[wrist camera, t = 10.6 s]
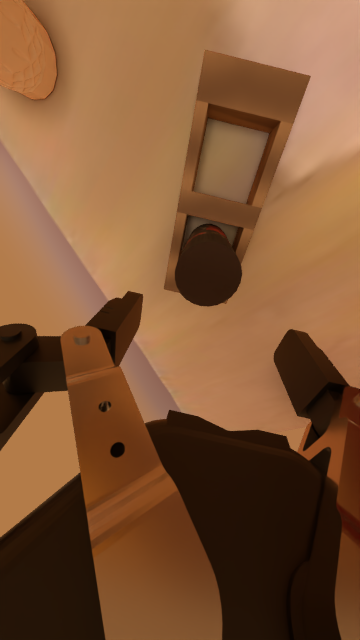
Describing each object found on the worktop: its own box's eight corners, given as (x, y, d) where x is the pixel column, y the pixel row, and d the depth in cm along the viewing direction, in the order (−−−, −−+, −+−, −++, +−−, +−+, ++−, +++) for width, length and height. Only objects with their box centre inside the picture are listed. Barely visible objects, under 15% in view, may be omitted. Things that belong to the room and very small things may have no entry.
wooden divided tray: (205, 74, 21) (205, 49, 18) (294, 96, 21) (310, 76, 18) (168, 280, 34) (163, 289, 30) (224, 293, 34) (226, 303, 31)
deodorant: (180, 240, 30) (161, 268, 18) (213, 214, 28) (219, 225, 15) (201, 271, 32) (197, 316, 20) (233, 249, 30) (253, 285, 17)
